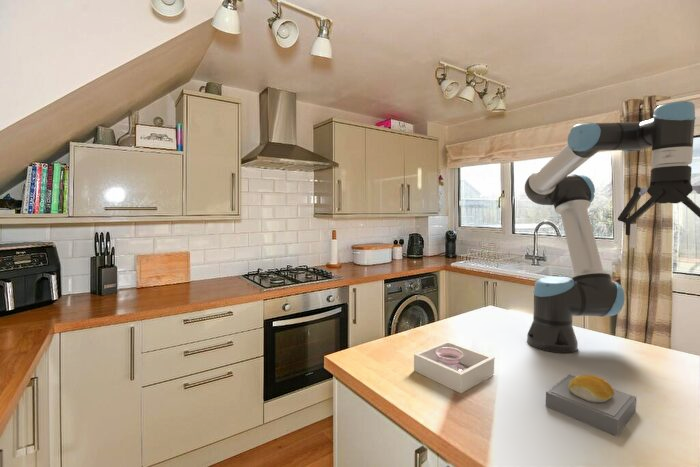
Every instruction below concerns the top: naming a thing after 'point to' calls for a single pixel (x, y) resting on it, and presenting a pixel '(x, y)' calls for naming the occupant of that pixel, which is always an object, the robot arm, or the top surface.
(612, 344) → the top surface
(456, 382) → the white open box
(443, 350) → the teacup
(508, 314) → the top surface
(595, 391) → the bread roll
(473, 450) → the top surface
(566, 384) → the grey square block
